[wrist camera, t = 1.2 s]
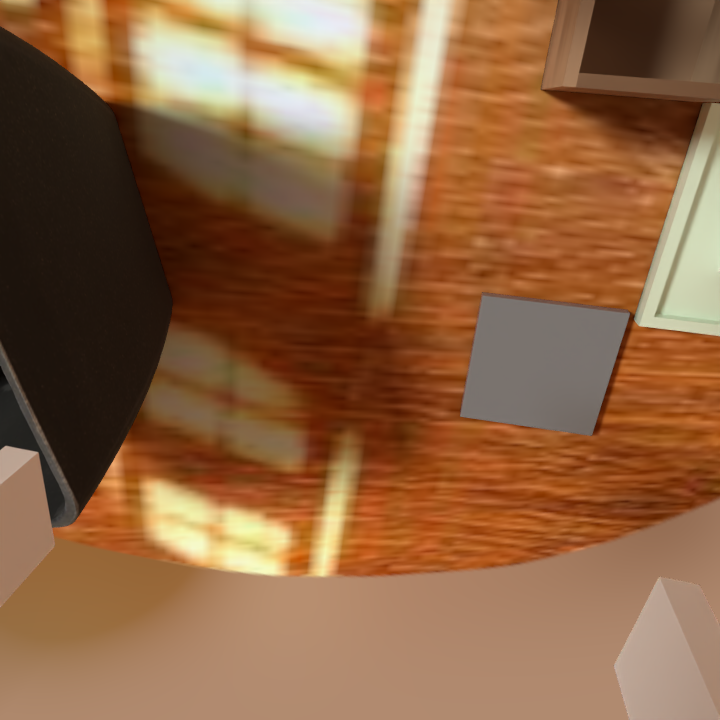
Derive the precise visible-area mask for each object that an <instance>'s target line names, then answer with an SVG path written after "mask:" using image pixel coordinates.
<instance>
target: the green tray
mask: <svg viewBox="0 0 720 720" xmlns="http://www.w3.org/2000/svg"><path fill="white" fill-rule="evenodd" d="M719 269H720V103H703V104H702V107H701V110H700V113H699V116H698V119H697V123H696V126H695V129H694V132H693V135H692V138H691V141H690V145H689V148H688V151H687V154H686V157H685V160H684V163H683V166H682V170H681V173H680V176H679V179H678V182H677V185H676V188H675V192H674V195H673V198H672V201H671V204H670V207H669V210H668V214H667V217H666V220H665V223H664V226H663V229H662V232H661V235H660V239H659V242H658V245H657V248H656V251H655V254H654V257H653V261H652V264H651V267H650V270H649V273H648V276H647V279H646V283H645V286H644V289H643V292H642V295H641V298H640V301H639V304H638V308H637V311H636V314H635V317H634V320H635V322H636V323H637V324H638V325H639V326H644V327H652V328H660V329H668V330H676V331H684V332H692V333H700V334H708V335H716V336H720V272H718V271H719Z"/></svg>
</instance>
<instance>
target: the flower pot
mask: <svg viewBox="0 0 720 720" xmlns="http://www.w3.org/2000/svg"><path fill="white" fill-rule="evenodd" d="M172 306H173V302H172V297H171V293H170V290H169V287H168V284H167V281H166V278H165V275H164V271H163V268H162V265H161V262H160V258H159V255H158V252H157V249H156V246H155V242H154V239H153V236H152V232H151V229H150V226H149V223H148V220H147V216H146V213H145V210H144V207H143V204H142V200H141V197H140V194H139V191H138V188H137V185H136V181H135V178H134V175H133V172H132V168H131V165H130V162H129V159H128V156H127V152H126V149H125V146H124V143H123V140H122V136H121V133H120V130H119V127H118V123H117V120H116V117H115V114H114V112H113V111H112V109H111V108H110V107H109V105H108V104H107V103H105V102H104V101H103V100H102V99H101V98H100V97H99V96H98V95H97V94H96V93H95V92H94V91H93V90H91V89H90V88H89V87H88V86H87V85H85V84H84V83H83V82H82V81H80V80H79V79H78V78H77V77H75V76H74V75H73V74H71V73H70V72H69V71H67V70H66V69H65V68H63V67H62V66H61V65H59V64H58V63H57V62H55V61H54V60H53V59H51V58H50V57H48V56H47V55H45V54H44V53H42V52H41V51H40V50H38V49H37V48H35V47H33V46H32V45H30V44H29V43H27V42H25V41H24V40H22V39H20V38H19V37H17V36H16V35H14V34H12V33H11V32H9V31H7V30H5V29H4V28H2V27H0V450H1V449H2V448H4V447H5V446H9V447H14V448H19V449H24V450H29V451H34V452H38V453H39V458H40V464H41V470H42V475H43V481H44V486H45V492H46V497H47V503H48V508H49V514H50V520H51V525H52V528H54V527H64V526H68V525H70V524H72V523H74V522H75V520H76V519H77V518H78V516H79V515H80V513H81V512H82V510H83V509H84V507H85V506H86V504H87V503H88V501H89V500H90V498H91V497H92V495H93V493H94V492H95V490H96V488H97V487H98V485H99V483H100V482H101V480H102V479H103V477H104V475H105V473H106V472H107V470H108V468H109V466H110V465H111V463H112V462H113V460H114V458H115V456H116V454H117V453H118V451H119V449H120V447H121V445H122V443H123V442H124V440H125V438H126V436H127V434H128V432H129V430H130V428H131V426H132V424H133V422H134V420H135V418H136V416H137V414H138V412H139V409H140V407H141V405H142V403H143V401H144V398H145V396H146V394H147V392H148V390H149V387H150V384H151V382H152V379H153V376H154V374H155V371H156V369H157V366H158V363H159V360H160V356H161V353H162V350H163V347H164V343H165V340H166V336H167V332H168V328H169V324H170V318H171V314H172Z"/></svg>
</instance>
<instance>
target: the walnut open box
mask: <svg viewBox="0 0 720 720" xmlns="http://www.w3.org/2000/svg"><path fill="white" fill-rule="evenodd" d="M541 90H553V91H565V92H577V93H590V94H602V95H614V96H626V97H638V98H651V99H663V100H675V101H687V102H720V0H558V5H557V10H556V15H555V20H554V25H553V30H552V35H551V40H550V45H549V50H548V55H547V60H546V65H545V70H544V75H543V80H542V85H541Z"/></svg>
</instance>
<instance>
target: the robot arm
mask: <svg viewBox="0 0 720 720" xmlns="http://www.w3.org/2000/svg"><path fill="white" fill-rule="evenodd" d="M54 546H55V542H54V536H53V531H52V525H51V520H50V514H49V508H48V503H47V497H46V492H45V486H44V481H43V475H42V470H41V464H40V458H39V453H38V452H34V451H29V450H24V449H19V448H14V447H9V446H5V447H4V448H2V449H1V450H0V607H1V606H2V605H3V604H4V603H5V602H6V600H7V599H8V598H9V597H10V596H11V595H12V594H13V593H14V591H15V590H16V589H17V588H18V587H19V586H20V584H21V583H22V582H23V581H24V580H25V579H26V578H27V577H28V576H29V575H30V573H31V572H32V571H33V570H34V569H35V568H36V567H37V566H38V564H39V563H40V562H41V561H42V560H43V559H44V558H45V557H46V555H47V554H48V553H49V552H50V551H51V550H52V549H53V548H54ZM614 668H615V672H616V675H617V679H618V682H619V686H620V689H621V693H622V696H623V700H624V703H625V707H626V711H627V714H628V718H629V720H720V624H719V622H718V620H717V618H716V616H715V615H714V613H713V610H712V608H711V607H710V604H709V602H708V601H707V599H706V597H705V595H704V593H703V591H702V589H701V587H700V585H699V584H695V583H689V582H684V581H680V580H674V579H670V578H664V577H660V576H659V578H658V580H657V582H656V584H655V586H654V588H653V590H652V592H651V594H650V596H649V598H648V599H647V601H646V603H645V605H644V607H643V609H642V612H641V613H640V615H639V617H638V619H637V622H636V623H635V625H634V627H633V629H632V631H631V633H630V635H629V637H628V639H627V641H626V643H625V645H624V647H623V649H622V651H621V653H620V655H619V657H618V659H617V660H616V662H615V664H614Z"/></svg>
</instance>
